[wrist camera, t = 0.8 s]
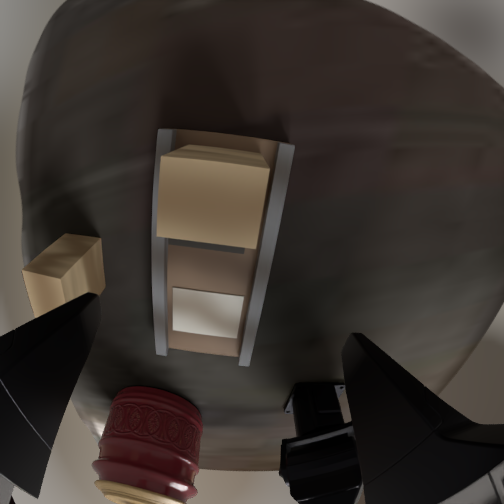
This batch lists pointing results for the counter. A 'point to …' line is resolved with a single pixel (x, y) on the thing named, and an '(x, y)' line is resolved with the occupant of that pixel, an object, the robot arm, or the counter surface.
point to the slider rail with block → (214, 237)
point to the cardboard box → (64, 272)
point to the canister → (149, 448)
